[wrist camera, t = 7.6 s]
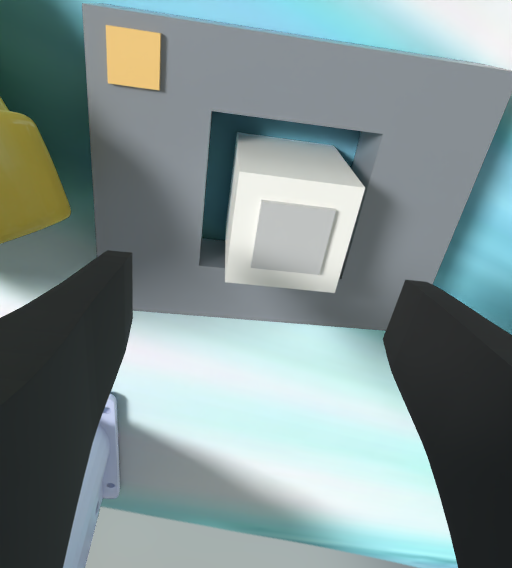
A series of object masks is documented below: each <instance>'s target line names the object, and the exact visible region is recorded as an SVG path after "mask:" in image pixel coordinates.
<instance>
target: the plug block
mask: <svg viewBox="0 0 512 568" xmlns="http://www.w3.org/2000/svg"><path fill="white" fill-rule="evenodd" d="M364 191H365V187H364V186H363V184H362V183H361V181H360V180H359V179H358V177H357V176H356V175H355V173H354V172H353V171H352V169H351V168H350V167H349V165H348V164H347V163H346V161H345V160H344V159H343V157H342V156H341V155H340V153H339V152H338V151H337V149H336V148H335V147H334V145H327V144H320V143H312V142H305V141H298V140H291V139H284V138H277V137H270V136H262V135H255V134H248V133H241V132H237V135H236V143H235V152H234V160H233V168H232V176H231V184H230V192H229V201H228V209H227V217H226V241H225V282H228V283H238V284H248V285H258V286H269V287H279V288H289V289H299V290H309V291H320V292H330V293H335V290H336V287H337V283H338V280H339V277H340V273H341V270H342V266H343V263H344V259H345V256H346V252H347V249H348V246H349V242H350V239H351V235H352V232H353V228H354V225H355V222H356V218H357V215H358V211H359V208H360V204H361V201H362V197H363V194H364Z"/></svg>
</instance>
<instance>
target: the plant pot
mask: <svg viewBox="0 0 512 568" xmlns="http://www.w3.org/2000/svg"><path fill="white" fill-rule="evenodd" d="M70 214H71V208H70V205H69V202H68V199H67V197H66V194H65V192H64V189H63V186H62V184H61V181H60V178H59V176H58V173H57V171H56V168H55V166H54V163H53V161H52V159H51V156H50V154H49V152H48V150H47V147H46V145H45V143H44V141H43V139H42V136H41V134H40V132H39V130H38V128H37V126H36V124H35V123H34V122H33V120H32V119H31V118H29V117H27V116H26V115H24V114H21V113H17V112H12V111H9V109H8V108H7V106H6V105H5V103H4V102H3V100H2V99H1V97H0V244H1V243H4V242H7V241H10V240H13V239H16V238H19V237H21V236H24V235H27V234H30V233H33V232H36V231H38V230H41V229H43V228H46V227H48V226H51V225H53V224H56V223H58V222H60V221H62V220H65V219H66V218H68V217H69V216H70Z"/></svg>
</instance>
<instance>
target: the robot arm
mask: <svg viewBox="0 0 512 568" xmlns="http://www.w3.org/2000/svg"><path fill="white" fill-rule="evenodd" d="M132 319H133V280H132V253H131V252H121V251H110V250H107V251H105V252H104V253H102V254H101V255H100V256H98V257H97V258H96V259H94V260H93V261H91V262H90V263H89V264H87V265H86V266H85V267H83V268H82V269H81V270H79V271H78V272H76V273H75V274H73V275H72V276H71V277H69V278H68V279H66V280H65V281H63V282H62V283H60V284H59V285H57V286H56V287H54V288H52V289H51V290H49V291H48V292H46V293H44V294H43V295H41V296H39V297H38V298H36V299H35V300H33V301H31V302H30V303H28V304H26V305H24V306H23V307H21V308H19V309H17V310H15V311H13V312H11V313H9V314H7V315H5V316H3V317H1V318H0V568H85V566H86V561H87V557H88V554H89V550H90V546H91V541H92V538H93V534H94V530H95V526H96V522H97V518H98V514H99V510H100V507H101V503H102V499H103V498H107V499H113V498H117V497H118V496H119V493H120V474H119V449H118V424H117V400H116V397H115V396H114V395H112V394H110V392H111V389H112V387H113V384H114V381H115V379H116V376H117V373H118V370H119V368H120V365H121V362H122V359H123V357H124V354H125V351H126V346H127V342H128V338H129V333H130V328H131V324H132ZM383 341H384V345H385V349H386V354H387V358H388V361H389V365H390V368H391V371H392V374H393V376H394V379H395V381H396V383H397V386H398V388H399V390H400V393H401V395H402V397H403V400H404V402H405V404H406V407H407V409H408V411H409V413H410V416H411V418H412V420H413V423H414V425H415V427H416V429H417V432H418V434H419V436H420V439H421V441H422V443H423V446H424V449H425V451H426V454H427V456H428V459H429V463H430V466H431V469H432V472H433V475H434V479H435V482H436V485H437V488H438V491H439V495H440V498H441V502H442V506H443V509H444V513H445V517H446V520H447V524H448V527H449V531H450V535H451V539H452V543H453V548H454V552H455V556H456V560H457V564H458V568H512V335H511V334H509V333H508V332H506V331H505V330H503V329H501V328H500V327H498V326H497V325H495V324H494V323H492V322H490V321H489V320H487V319H486V318H484V317H483V316H481V315H480V314H478V313H477V312H475V311H474V310H472V309H471V308H469V307H468V306H466V305H465V304H463V303H462V302H460V301H459V300H457V299H456V298H454V297H452V296H451V295H449V294H448V293H446V292H445V291H443V290H441V289H440V288H438V287H436V286H434V285H432V284H430V283H428V282H424V281H414V280H405V282H404V285H403V287H402V290H401V293H400V295H399V298H398V300H397V303H396V306H395V308H394V311H393V314H392V316H391V319H390V322H389V324H388V327H387V330H386V332H385V335H384V337H383ZM105 407H108V408H105Z"/></svg>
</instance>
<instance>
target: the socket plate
mask: <svg viewBox="0 0 512 568" xmlns="http://www.w3.org/2000/svg"><path fill="white" fill-rule="evenodd" d="M82 11H83V28H84V45H85V62H86V79H87V96H88V113H89V130H90V147H91V164H92V181H93V198H94V215H95V232H96V249H97V257H98V256H100V255H101V254H102V253H104V252H105V251H107V250H110V251H121V252H131V253H132V280H133V310H134V311H146V312H159V313H171V314H184V315H197V316H209V317H222V318H234V319H247V320H259V321H272V322H285V323H297V324H310V325H322V326H335V327H347V328H360V329H373V330H385V331H386V330H387V327H388V324H389V322H390V319H391V316H392V314H393V311H394V308H395V306H396V303H397V300H398V298H399V295H400V293H401V290H402V287H403V285H404V282H405V280H414V281H424V282H428V283H430V284H433V282H434V280H435V277H436V275H437V272H438V270H439V267H440V265H441V263H442V260H443V258H444V255H445V253H446V251H447V248H448V246H449V243H450V241H451V239H452V236H453V234H454V231H455V229H456V226H457V224H458V222H459V219H460V217H461V214H462V212H463V210H464V207H465V205H466V202H467V200H468V198H469V195H470V193H471V190H472V188H473V185H474V183H475V181H476V178H477V176H478V173H479V171H480V169H481V166H482V164H483V161H484V159H485V157H486V154H487V152H488V149H489V147H490V144H491V142H492V140H493V137H494V135H495V132H496V130H497V128H498V125H499V123H500V120H501V118H502V116H503V113H504V111H505V108H506V106H507V103H508V101H509V99H510V96H511V94H512V71H511V70H506V69H502V68H498V67H494V66H489V65H485V64H480V63H474V62H467V61H461V60H455V59H448V58H442V57H436V56H430V55H423V54H417V53H411V52H404V51H398V50H392V49H386V48H379V47H373V46H367V45H360V44H354V43H348V42H342V41H335V40H329V39H323V38H316V37H310V36H304V35H298V34H291V33H285V32H279V31H272V30H266V29H260V28H253V27H247V26H241V25H235V24H228V23H222V22H216V21H209V20H203V19H197V18H191V17H184V16H178V15H172V14H165V13H159V12H153V11H147V10H140V9H134V8H128V7H121V6H115V5H109V4H103V3H82ZM212 111H215V112H223V113H230V114H237V115H245V116H252V117H260V118H267V119H275V120H282V121H289V122H297V123H304V124H312V125H319V126H326V127H334V128H341V129H349V130H356V131H361V134H360V137H359V141H358V145H357V149H356V153H355V157H354V161H353V165H352V168H351V169H352V171H353V172H354V173H355V175H356V176H357V177H358V179H359V180H360V181H361V183H362V184H363V186H364V187H365V191H364V194H363V197H362V201H361V204H360V208H359V211H358V215H357V218H356V222H355V225H354V228H353V232H352V235H351V239H350V242H349V246H348V249H347V252H346V256H345V259H344V263H343V266H342V270H341V273H340V277H339V280H338V283H337V287H336V290H335V293H330V292H320V291H309V290H299V289H289V288H279V287H269V286H258V285H248V284H238V283H228V282H225V240H215V239H205V238H202V231H203V219H204V206H205V194H206V182H207V170H208V158H209V146H210V134H211V121H212Z"/></svg>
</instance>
